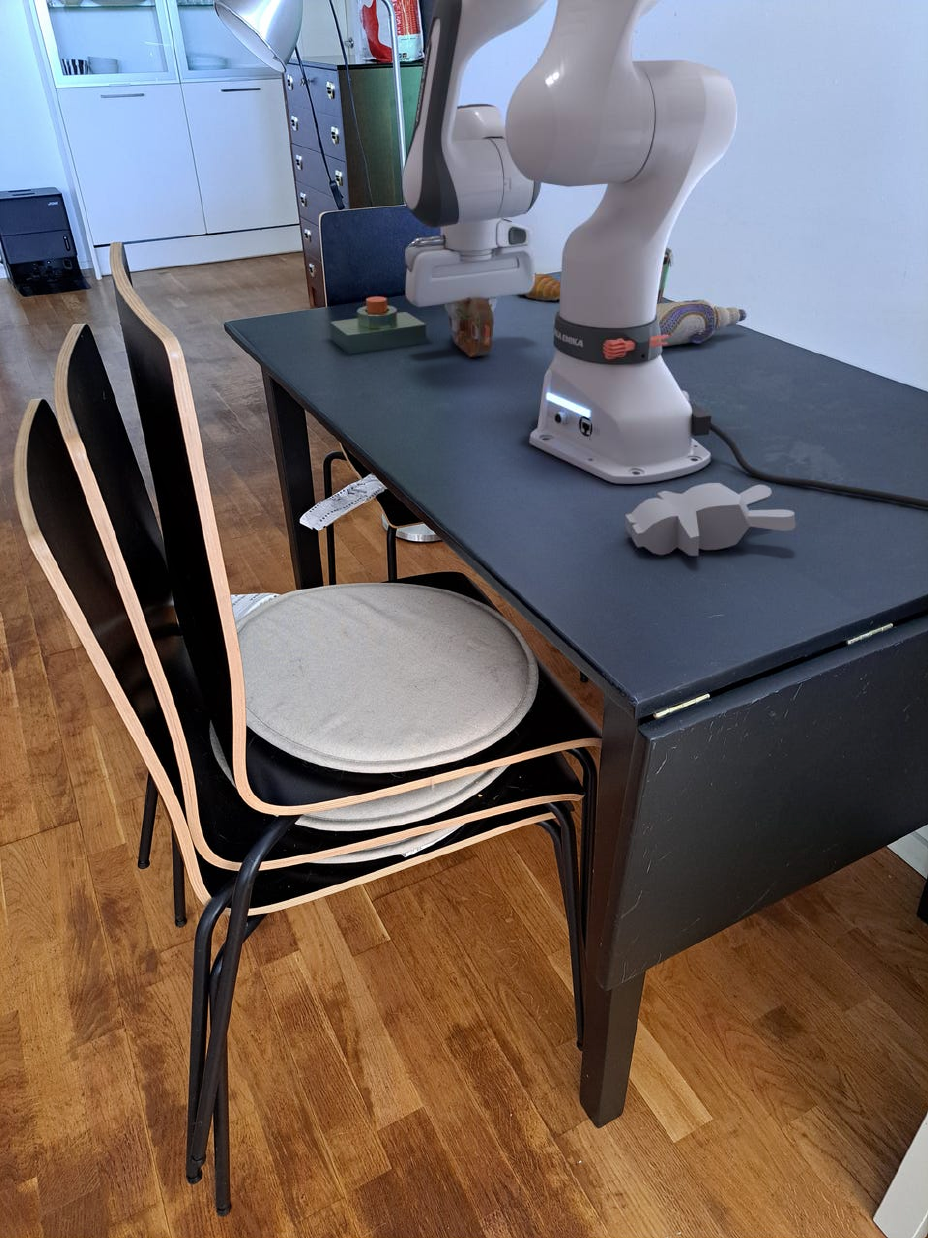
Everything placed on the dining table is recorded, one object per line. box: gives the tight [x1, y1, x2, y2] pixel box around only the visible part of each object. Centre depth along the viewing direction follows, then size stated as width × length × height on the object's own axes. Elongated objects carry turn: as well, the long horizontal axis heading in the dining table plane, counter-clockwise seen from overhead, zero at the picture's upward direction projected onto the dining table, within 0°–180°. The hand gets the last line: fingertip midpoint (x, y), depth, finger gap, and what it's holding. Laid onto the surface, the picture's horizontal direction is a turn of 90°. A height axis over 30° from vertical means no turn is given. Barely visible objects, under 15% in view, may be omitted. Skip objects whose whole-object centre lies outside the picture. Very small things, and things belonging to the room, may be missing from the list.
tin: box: [448, 297, 495, 358], centre depth 135 cm, size 15×3×8 cm, turn 17°
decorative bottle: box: [656, 299, 747, 348], centre depth 138 cm, size 26×8×7 cm, turn 113°
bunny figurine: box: [624, 482, 796, 557], centre depth 86 cm, size 10×5×15 cm
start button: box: [365, 296, 388, 313], centre depth 138 cm, size 3×3×2 cm
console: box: [330, 304, 427, 355], centre depth 140 cm, size 8×13×5 cm, turn 116°
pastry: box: [520, 272, 561, 302], centre depth 163 cm, size 9×7×4 cm
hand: (470, 328), depth 136 cm, fingers closed on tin, 3 cm apart
